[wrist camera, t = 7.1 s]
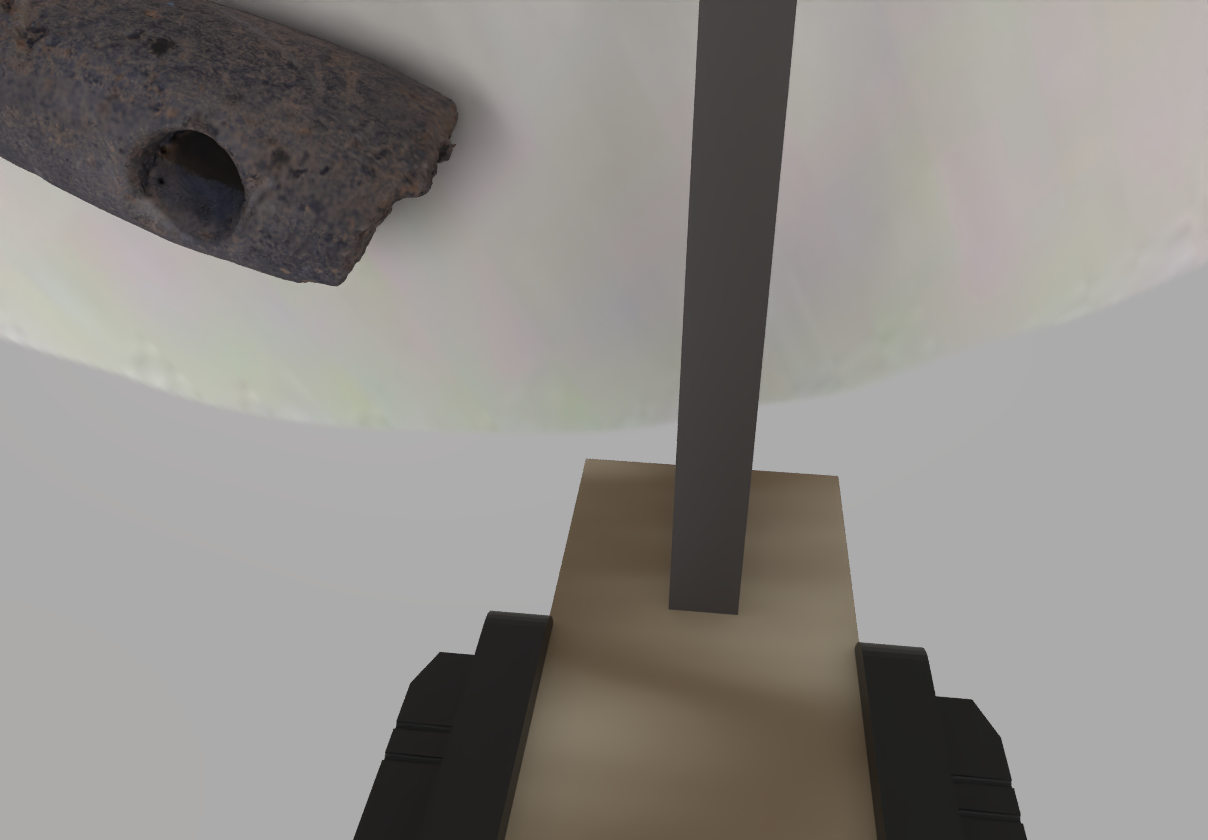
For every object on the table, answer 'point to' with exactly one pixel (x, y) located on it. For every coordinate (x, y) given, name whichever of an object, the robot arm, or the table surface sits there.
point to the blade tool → (707, 551)
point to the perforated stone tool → (217, 128)
